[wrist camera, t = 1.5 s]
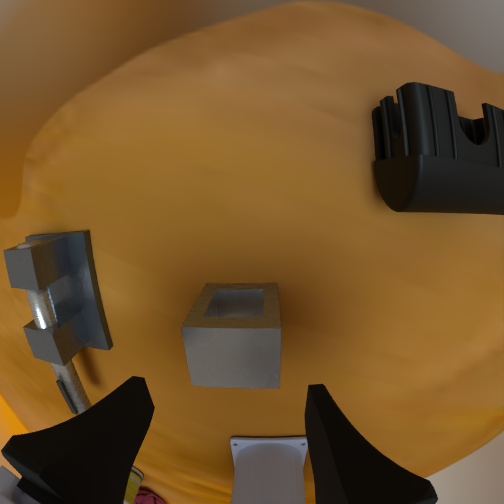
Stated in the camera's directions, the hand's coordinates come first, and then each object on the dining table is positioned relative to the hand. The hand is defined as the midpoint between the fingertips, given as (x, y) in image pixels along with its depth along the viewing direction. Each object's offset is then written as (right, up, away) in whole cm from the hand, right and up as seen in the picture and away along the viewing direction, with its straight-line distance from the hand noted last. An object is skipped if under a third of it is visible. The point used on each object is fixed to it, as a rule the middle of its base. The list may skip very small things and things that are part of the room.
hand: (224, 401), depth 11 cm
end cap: (+14, +13, +6) cm, 20 cm away
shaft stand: (-15, 0, +11) cm, 19 cm away
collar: (+1, +2, +9) cm, 10 cm away
